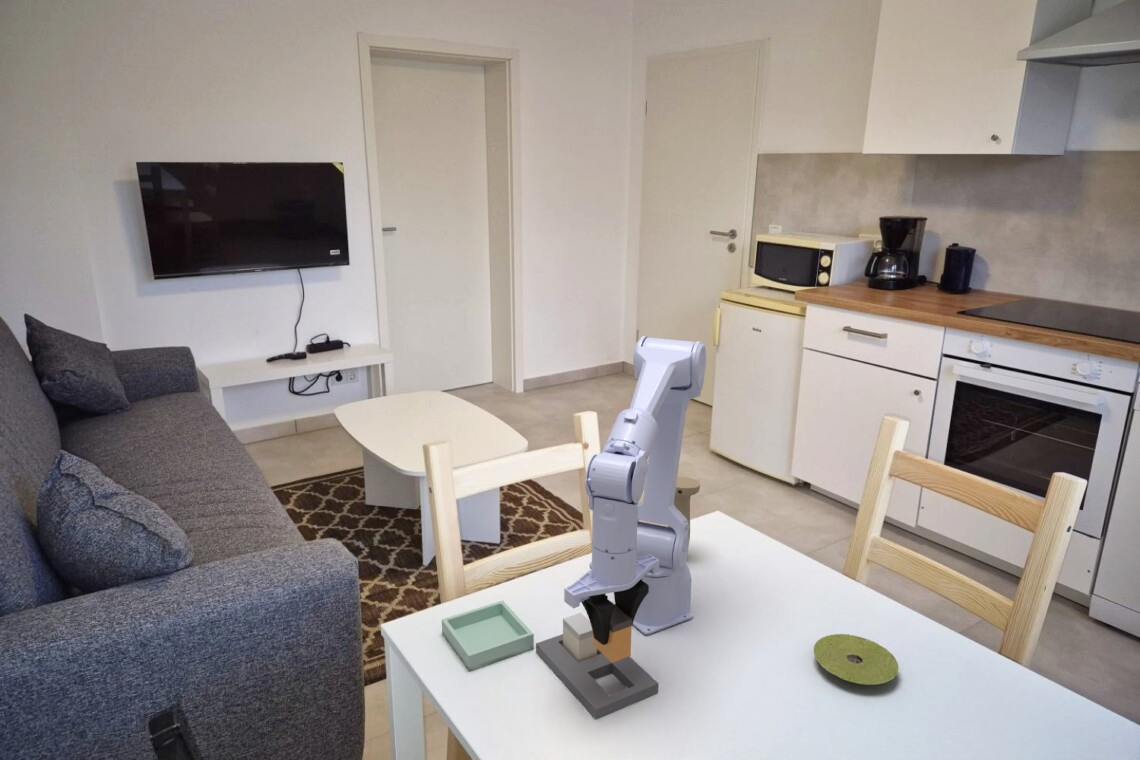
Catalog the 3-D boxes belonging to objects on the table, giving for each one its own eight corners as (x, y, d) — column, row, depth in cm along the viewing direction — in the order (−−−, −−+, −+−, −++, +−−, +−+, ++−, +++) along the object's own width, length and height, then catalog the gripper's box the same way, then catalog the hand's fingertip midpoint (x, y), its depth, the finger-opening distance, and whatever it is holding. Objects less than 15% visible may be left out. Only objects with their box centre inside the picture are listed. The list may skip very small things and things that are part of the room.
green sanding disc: (835, 635, 113) (836, 624, 113) (910, 669, 106) (912, 657, 105) (797, 668, 106) (798, 656, 105) (875, 708, 98) (877, 695, 98)
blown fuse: (611, 637, 102) (612, 602, 101) (630, 655, 99) (631, 619, 97) (593, 644, 101) (593, 608, 99) (611, 662, 97) (612, 626, 96)
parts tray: (503, 614, 118) (502, 600, 117) (533, 648, 110) (533, 634, 109) (442, 633, 113) (441, 619, 112) (469, 671, 105) (468, 656, 104)
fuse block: (593, 631, 114) (594, 623, 113) (658, 692, 101) (658, 683, 100) (536, 652, 109) (536, 643, 108) (595, 719, 96) (595, 709, 95)
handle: (694, 567, 132) (699, 489, 128) (658, 563, 134) (661, 486, 130) (696, 554, 137) (700, 478, 133) (661, 550, 138) (664, 475, 134)
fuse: (580, 645, 111) (580, 612, 109) (596, 661, 107) (597, 628, 106) (562, 651, 109) (563, 618, 108) (579, 668, 106) (579, 634, 104)
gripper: (635, 516, 103) (632, 603, 107) (550, 546, 94) (550, 640, 98) (672, 536, 97) (667, 626, 101) (584, 570, 89) (583, 668, 93)
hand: (612, 635), depth 99 cm, fingers closed on blown fuse, 3 cm apart
